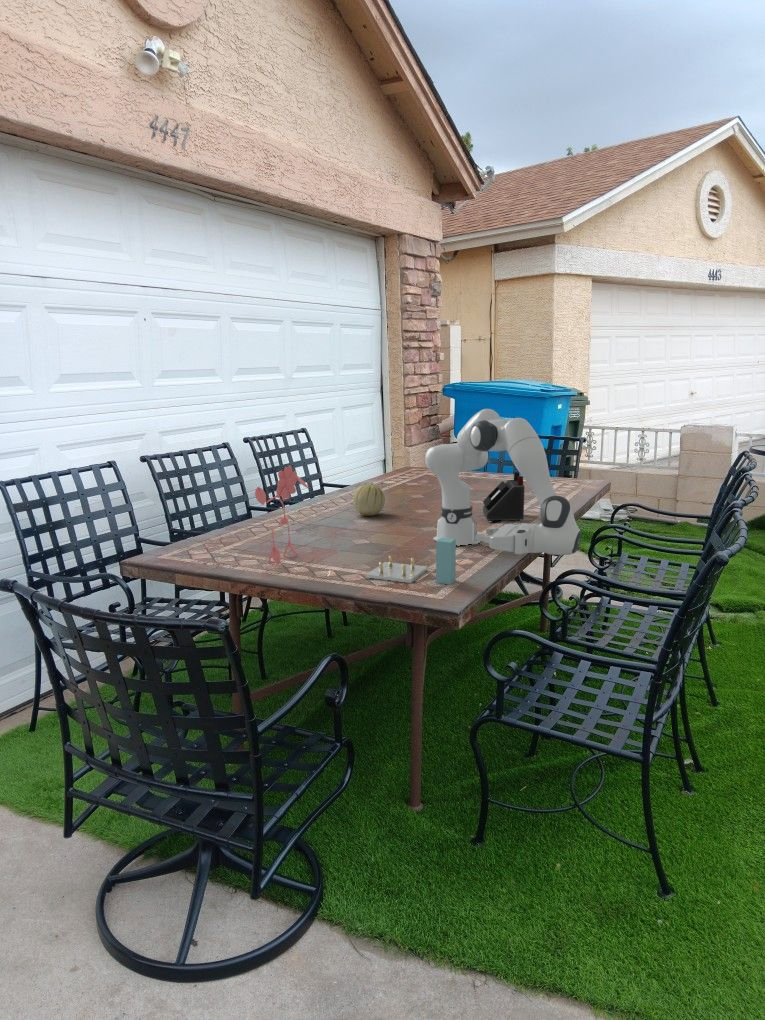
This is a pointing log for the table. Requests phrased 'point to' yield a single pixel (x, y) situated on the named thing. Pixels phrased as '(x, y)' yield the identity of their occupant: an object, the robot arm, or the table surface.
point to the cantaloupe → (368, 499)
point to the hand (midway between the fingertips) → (482, 534)
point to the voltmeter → (506, 501)
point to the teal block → (445, 560)
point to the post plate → (397, 571)
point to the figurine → (286, 489)
